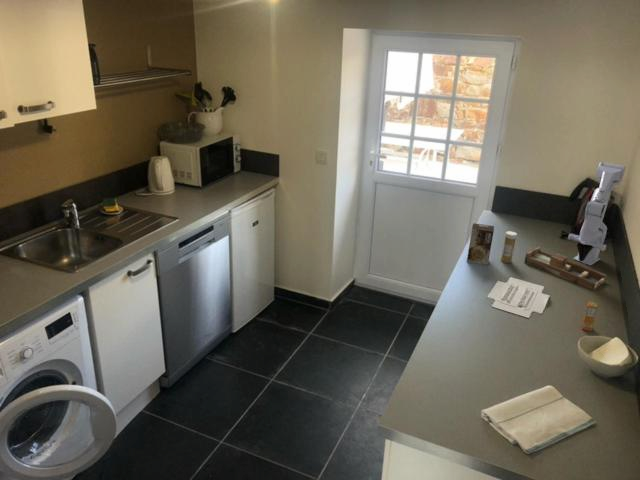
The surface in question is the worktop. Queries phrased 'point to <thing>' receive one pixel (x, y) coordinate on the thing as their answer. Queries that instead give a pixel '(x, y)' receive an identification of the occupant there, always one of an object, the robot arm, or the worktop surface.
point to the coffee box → (480, 243)
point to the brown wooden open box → (565, 269)
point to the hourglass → (589, 316)
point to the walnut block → (558, 260)
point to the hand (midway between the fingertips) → (581, 260)
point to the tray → (519, 297)
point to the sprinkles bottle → (508, 246)
